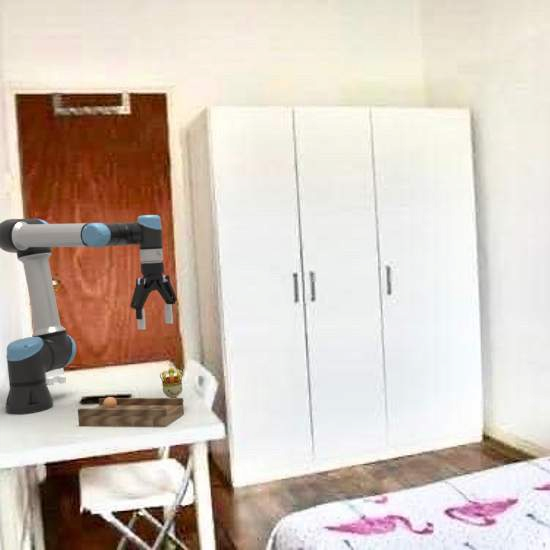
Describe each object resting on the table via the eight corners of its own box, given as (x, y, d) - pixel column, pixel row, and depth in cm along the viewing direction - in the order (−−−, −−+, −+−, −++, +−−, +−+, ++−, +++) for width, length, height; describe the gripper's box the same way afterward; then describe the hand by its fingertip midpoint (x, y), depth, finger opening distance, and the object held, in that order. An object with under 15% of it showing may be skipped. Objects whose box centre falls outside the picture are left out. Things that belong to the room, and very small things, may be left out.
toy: (166, 414, 214) (163, 366, 213) (159, 409, 221) (156, 363, 220) (188, 410, 217) (185, 363, 217) (180, 405, 224) (177, 360, 223)
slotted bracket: (66, 383, 275) (64, 363, 274) (48, 385, 272) (46, 366, 271) (62, 378, 286) (60, 359, 286) (44, 380, 284) (43, 361, 283)
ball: (101, 411, 210) (100, 398, 210) (107, 408, 214) (106, 395, 214) (113, 411, 209) (112, 398, 209) (119, 408, 213) (118, 395, 213)
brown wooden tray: (78, 425, 206) (77, 409, 206) (101, 413, 220) (100, 398, 220) (165, 426, 200) (164, 409, 199) (183, 413, 213) (182, 397, 213)
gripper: (134, 264, 214) (138, 332, 216) (184, 259, 236) (188, 321, 237) (116, 264, 218) (120, 331, 220) (168, 260, 240) (171, 320, 241)
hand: (155, 326), depth 228 cm, fingers open, 13 cm apart
